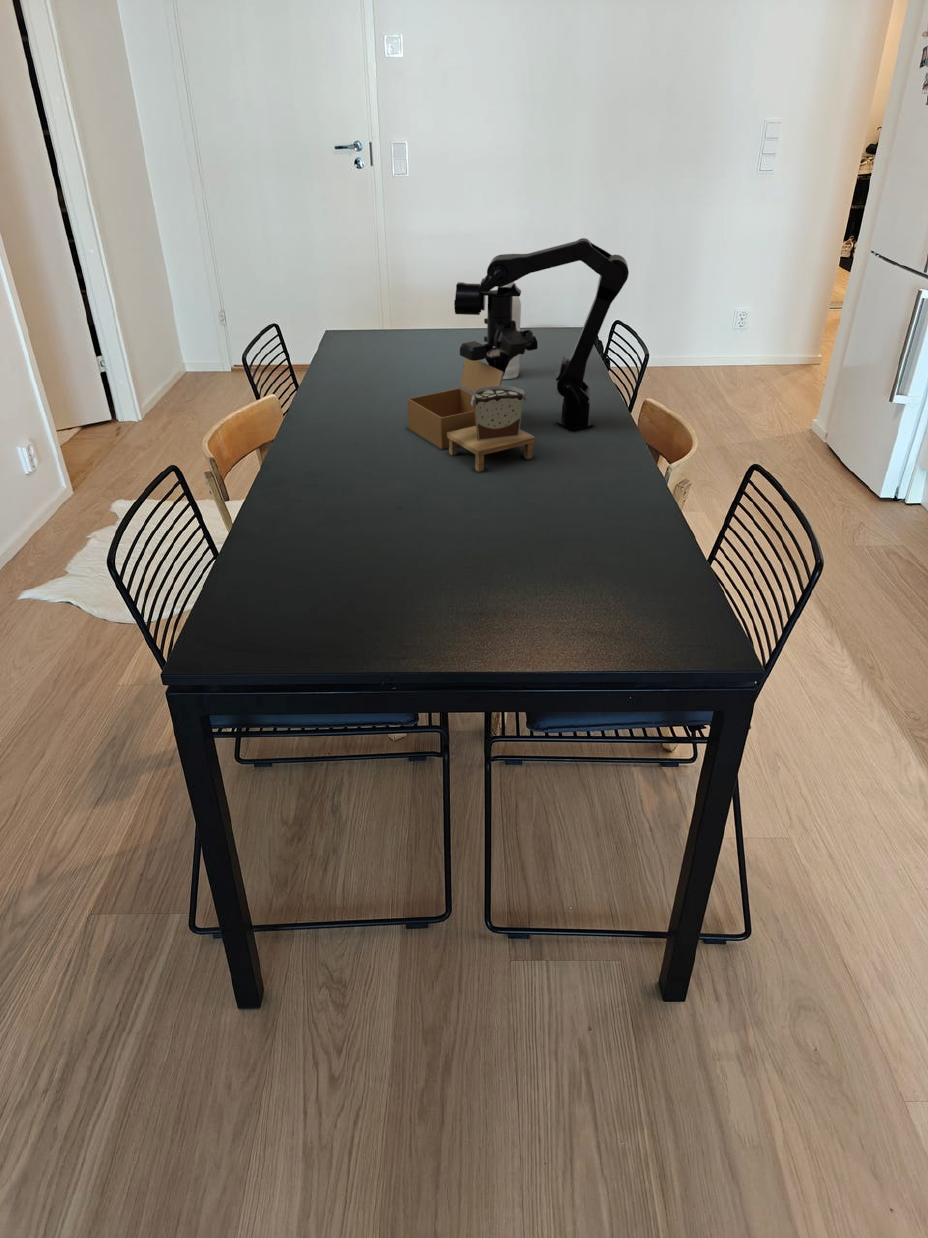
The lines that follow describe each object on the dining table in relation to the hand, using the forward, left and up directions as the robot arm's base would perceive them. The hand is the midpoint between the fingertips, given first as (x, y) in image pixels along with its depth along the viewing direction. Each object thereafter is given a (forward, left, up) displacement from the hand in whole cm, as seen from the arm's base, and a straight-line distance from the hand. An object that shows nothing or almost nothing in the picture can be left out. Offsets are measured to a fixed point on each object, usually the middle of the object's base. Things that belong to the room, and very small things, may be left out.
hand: (498, 382), depth 201 cm
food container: (-17, +13, -5) cm, 22 cm away
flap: (0, +5, +2) cm, 6 cm away
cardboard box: (0, +13, -10) cm, 17 cm away
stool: (-17, +13, -10) cm, 24 cm away
